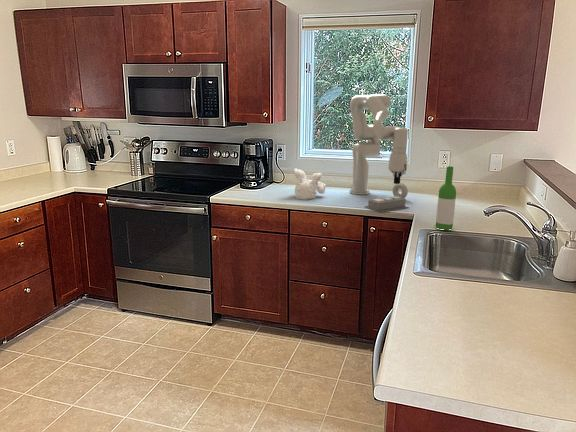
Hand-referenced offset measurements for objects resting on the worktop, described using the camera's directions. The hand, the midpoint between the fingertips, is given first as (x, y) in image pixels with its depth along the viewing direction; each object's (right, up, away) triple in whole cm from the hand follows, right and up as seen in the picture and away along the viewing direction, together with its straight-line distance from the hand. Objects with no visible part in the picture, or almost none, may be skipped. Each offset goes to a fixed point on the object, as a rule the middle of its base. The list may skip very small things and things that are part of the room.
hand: (396, 183), depth 270 cm
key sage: (0, -11, +3) cm, 11 cm away
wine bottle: (+13, -25, -40) cm, 49 cm away
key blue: (-6, -11, -1) cm, 13 cm away
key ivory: (-11, -12, -4) cm, 17 cm away
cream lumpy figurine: (-48, -7, +24) cm, 54 cm away
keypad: (-6, -13, 0) cm, 15 cm away
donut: (+6, -9, +20) cm, 23 cm away
